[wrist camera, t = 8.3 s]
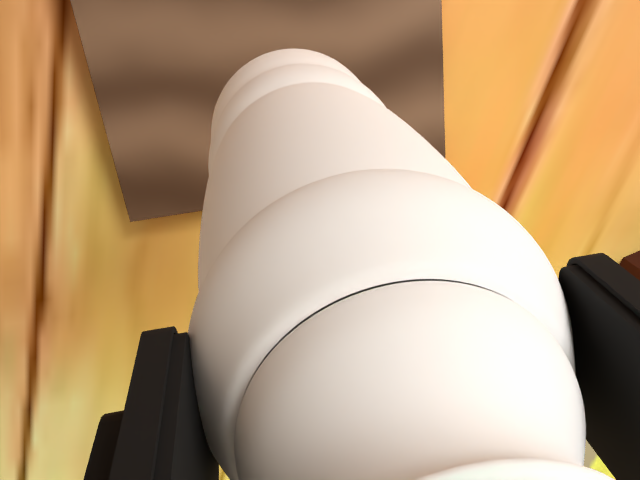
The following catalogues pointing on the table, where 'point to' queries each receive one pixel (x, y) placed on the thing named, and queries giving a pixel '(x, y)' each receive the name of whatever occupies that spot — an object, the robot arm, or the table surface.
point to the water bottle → (369, 299)
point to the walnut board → (224, 61)
